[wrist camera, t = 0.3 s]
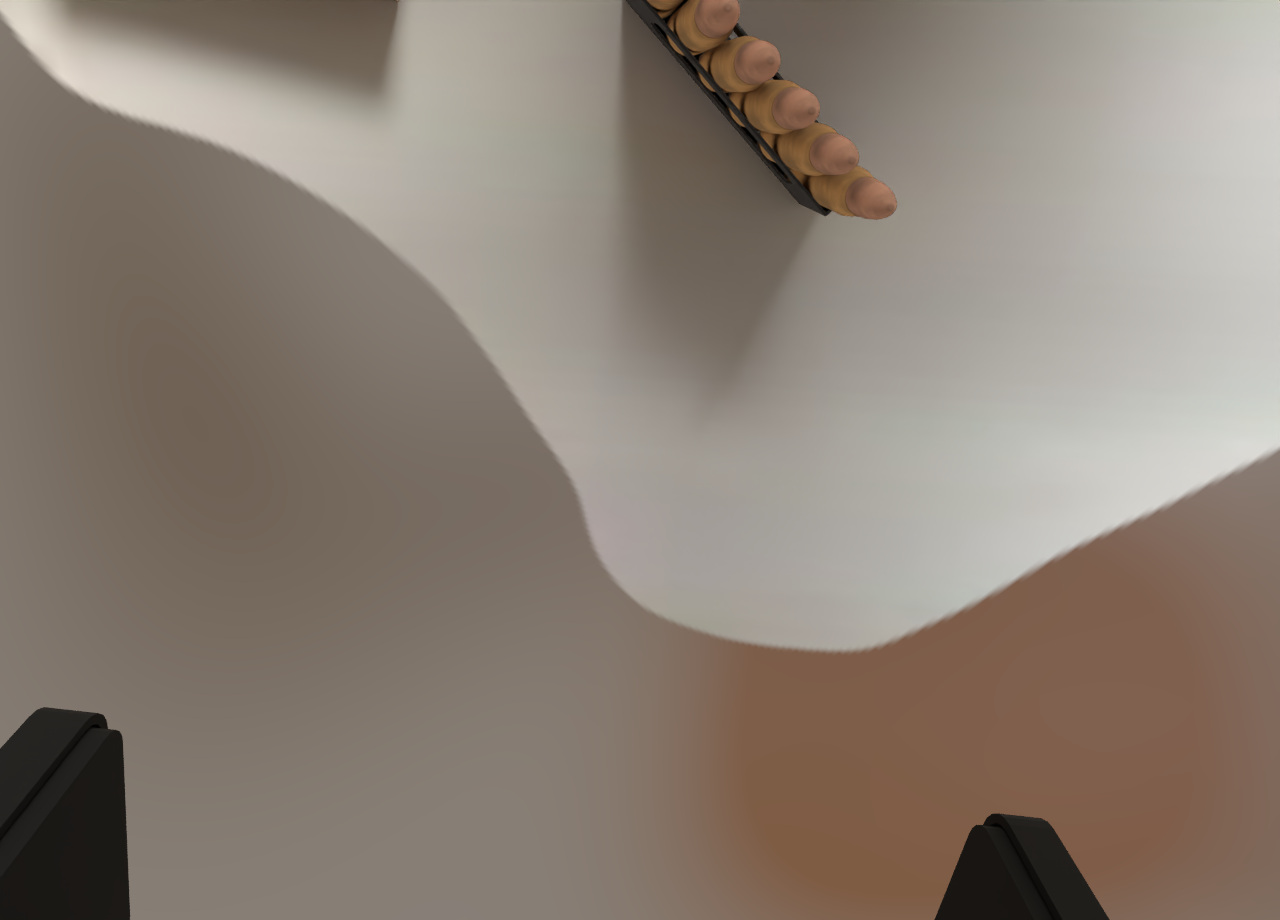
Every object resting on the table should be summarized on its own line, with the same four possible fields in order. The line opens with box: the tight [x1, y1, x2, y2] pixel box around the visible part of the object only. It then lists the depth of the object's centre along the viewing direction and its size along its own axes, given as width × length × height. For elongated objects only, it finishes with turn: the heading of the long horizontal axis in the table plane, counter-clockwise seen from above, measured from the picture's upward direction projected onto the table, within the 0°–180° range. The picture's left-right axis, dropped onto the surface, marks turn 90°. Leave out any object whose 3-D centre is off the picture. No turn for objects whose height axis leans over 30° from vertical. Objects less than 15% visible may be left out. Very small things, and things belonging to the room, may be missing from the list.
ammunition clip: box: [626, 0, 897, 220], centre depth 30 cm, size 11×2×12 cm, turn 44°
